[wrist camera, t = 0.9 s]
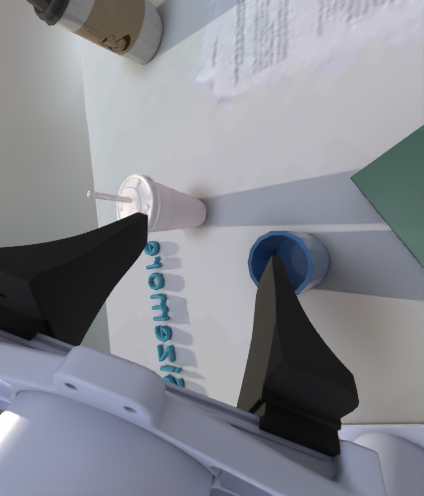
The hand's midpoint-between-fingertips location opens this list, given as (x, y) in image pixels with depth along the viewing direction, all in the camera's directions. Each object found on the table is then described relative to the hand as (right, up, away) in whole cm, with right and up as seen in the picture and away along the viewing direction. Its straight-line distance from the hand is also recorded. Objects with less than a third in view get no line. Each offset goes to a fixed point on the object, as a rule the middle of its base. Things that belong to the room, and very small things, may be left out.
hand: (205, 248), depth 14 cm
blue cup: (+9, -1, +11) cm, 14 cm away
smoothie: (-2, +5, +19) cm, 20 cm away
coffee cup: (-9, +32, +24) cm, 41 cm away
